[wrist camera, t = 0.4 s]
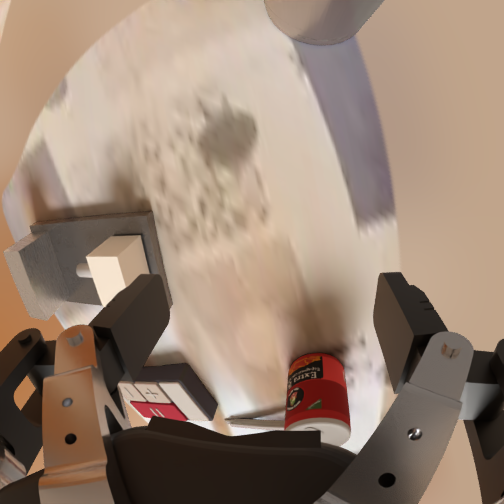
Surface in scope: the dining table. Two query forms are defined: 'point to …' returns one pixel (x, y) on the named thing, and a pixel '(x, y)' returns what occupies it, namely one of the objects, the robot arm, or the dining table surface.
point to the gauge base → (73, 258)
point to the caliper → (257, 424)
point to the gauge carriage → (114, 265)
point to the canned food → (318, 398)
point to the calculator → (170, 393)
